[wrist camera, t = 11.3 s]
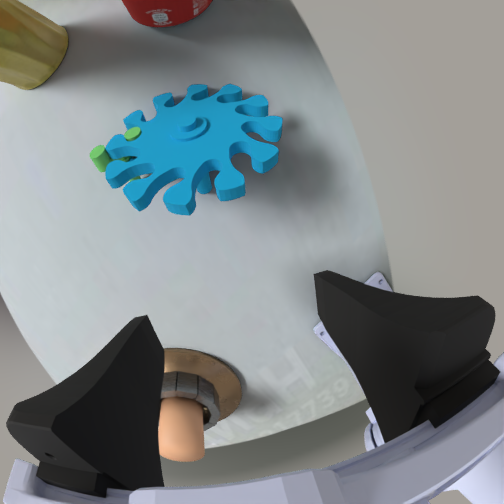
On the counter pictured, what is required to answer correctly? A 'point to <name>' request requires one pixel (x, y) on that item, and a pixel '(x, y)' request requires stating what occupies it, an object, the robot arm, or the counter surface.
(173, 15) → the beverage can
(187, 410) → the peg
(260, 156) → the gear
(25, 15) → the vase
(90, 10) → the counter surface
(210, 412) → the ring collar
